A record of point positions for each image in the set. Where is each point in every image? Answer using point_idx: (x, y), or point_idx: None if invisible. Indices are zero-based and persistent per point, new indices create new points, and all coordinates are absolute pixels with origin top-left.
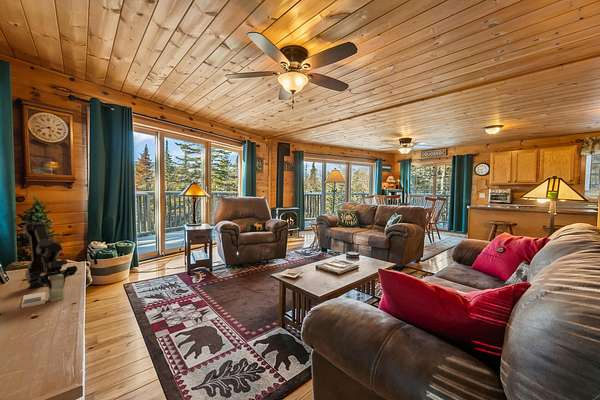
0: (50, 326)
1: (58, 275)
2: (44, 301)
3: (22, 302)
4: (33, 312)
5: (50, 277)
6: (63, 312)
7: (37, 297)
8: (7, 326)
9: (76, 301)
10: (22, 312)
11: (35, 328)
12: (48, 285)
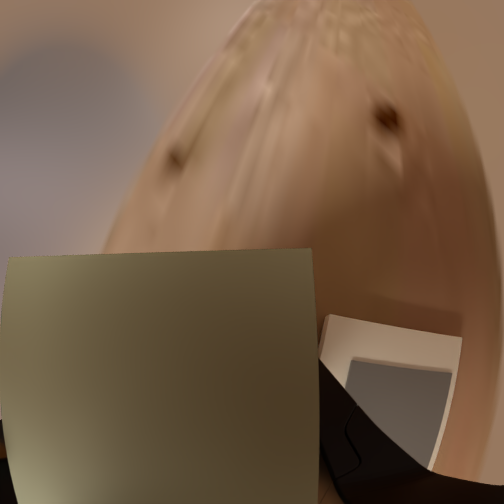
0: (334, 18)
1: (75, 428)
2: (332, 315)
3: (445, 419)
4: (398, 189)
5: (312, 473)
6: (272, 76)
7: None
8: (463, 114)
9: (152, 185)
10: (445, 244)
11: (375, 35)
12: (326, 374)
